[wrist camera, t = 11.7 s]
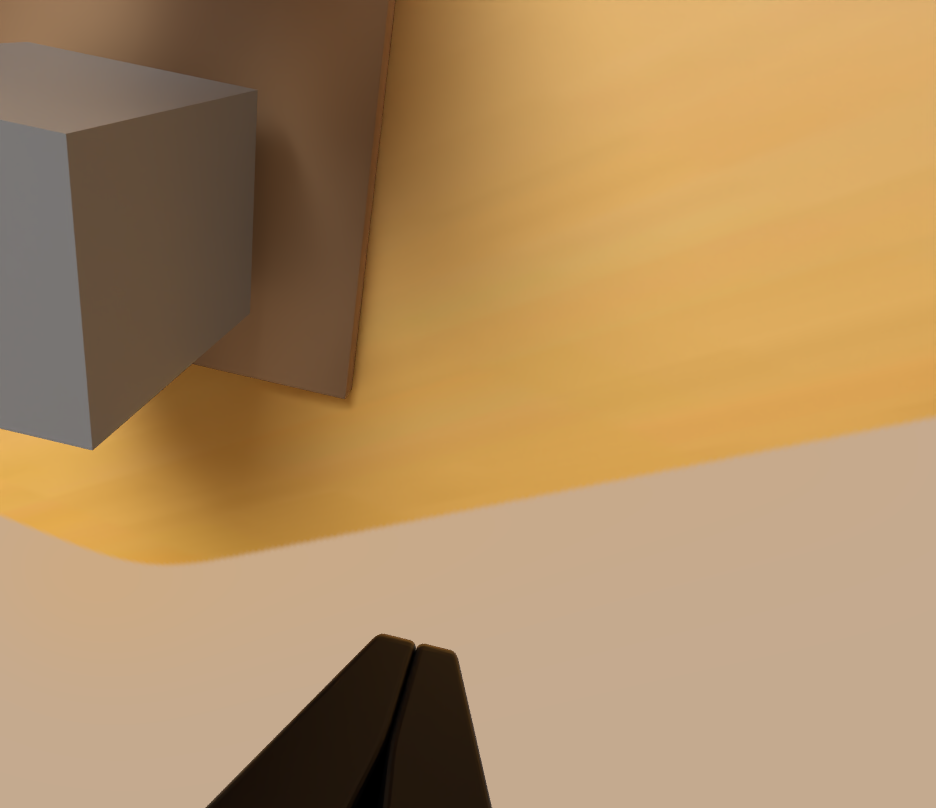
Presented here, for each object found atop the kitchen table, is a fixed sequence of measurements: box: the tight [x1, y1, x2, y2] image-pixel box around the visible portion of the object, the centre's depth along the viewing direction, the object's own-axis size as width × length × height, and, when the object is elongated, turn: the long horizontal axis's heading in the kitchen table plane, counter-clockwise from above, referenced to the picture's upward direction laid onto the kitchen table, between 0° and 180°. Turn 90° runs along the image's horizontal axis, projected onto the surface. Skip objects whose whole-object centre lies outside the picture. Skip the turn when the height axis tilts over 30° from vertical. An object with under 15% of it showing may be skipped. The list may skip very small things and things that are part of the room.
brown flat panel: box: [0, 0, 395, 399], centre depth 15 cm, size 10×10×8 cm
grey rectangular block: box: [0, 42, 258, 450], centre depth 14 cm, size 5×5×7 cm
